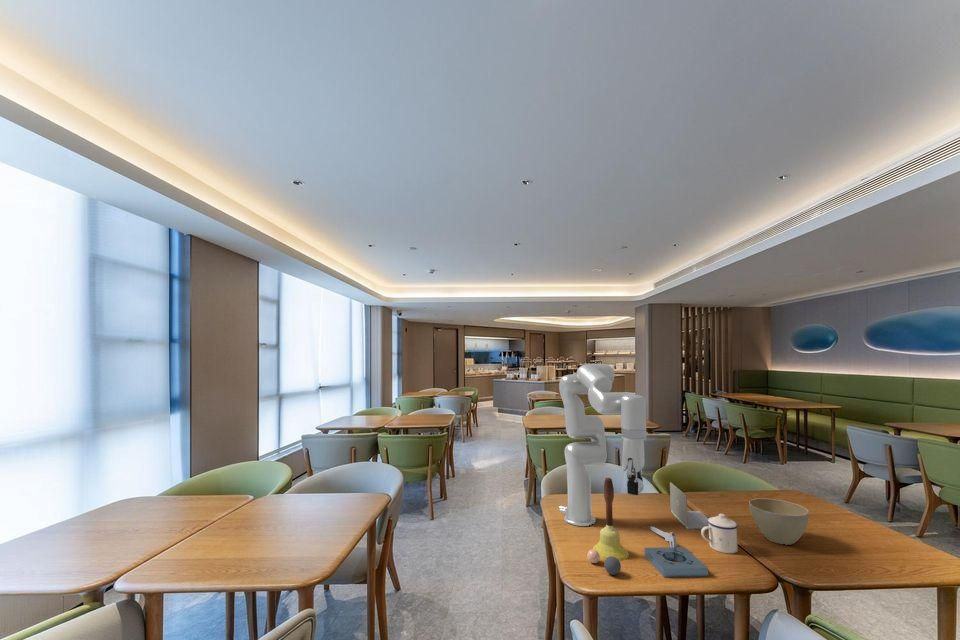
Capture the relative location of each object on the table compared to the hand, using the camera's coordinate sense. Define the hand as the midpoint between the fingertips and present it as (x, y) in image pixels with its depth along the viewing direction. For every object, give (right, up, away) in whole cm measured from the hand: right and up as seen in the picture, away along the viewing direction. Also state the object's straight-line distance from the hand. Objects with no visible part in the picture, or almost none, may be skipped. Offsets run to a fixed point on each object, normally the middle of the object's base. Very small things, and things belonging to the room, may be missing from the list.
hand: (635, 491), depth 133 cm
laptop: (+39, -29, +40) cm, 63 cm away
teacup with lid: (+35, -27, +15) cm, 47 cm away
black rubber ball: (-8, -22, -2) cm, 24 cm away
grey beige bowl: (+61, -27, +21) cm, 70 cm away
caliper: (+18, -27, +22) cm, 39 cm away
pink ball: (-12, -24, +5) cm, 27 cm away
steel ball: (0, +2, 0) cm, 2 cm away
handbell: (-4, -26, +12) cm, 29 cm away
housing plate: (+14, -25, +3) cm, 29 cm away
